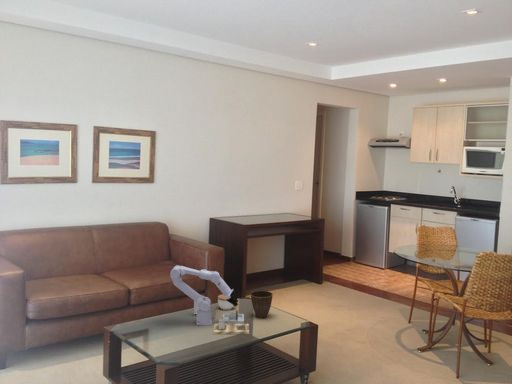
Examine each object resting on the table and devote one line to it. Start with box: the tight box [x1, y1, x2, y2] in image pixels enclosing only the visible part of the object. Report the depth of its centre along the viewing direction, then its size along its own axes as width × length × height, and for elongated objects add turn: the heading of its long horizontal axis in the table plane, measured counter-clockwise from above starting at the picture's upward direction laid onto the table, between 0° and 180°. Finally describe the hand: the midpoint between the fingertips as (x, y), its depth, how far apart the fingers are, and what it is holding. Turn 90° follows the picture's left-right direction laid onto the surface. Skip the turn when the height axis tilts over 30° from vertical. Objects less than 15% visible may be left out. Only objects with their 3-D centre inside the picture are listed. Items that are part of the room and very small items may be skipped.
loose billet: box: [228, 310, 239, 321], centre depth 318 cm, size 4×6×6 cm, turn 92°
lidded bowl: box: [217, 293, 235, 311], centre depth 343 cm, size 13×13×11 cm
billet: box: [218, 318, 226, 330], centre depth 302 cm, size 4×6×6 cm, turn 2°
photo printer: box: [193, 296, 208, 315], centre depth 330 cm, size 10×4×12 cm, turn 98°
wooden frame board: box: [212, 323, 250, 335], centre depth 302 cm, size 22×14×2 cm, turn 92°
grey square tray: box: [222, 313, 245, 324], centre depth 318 cm, size 14×14×2 cm
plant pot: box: [250, 290, 274, 319], centre depth 327 cm, size 15×15×16 cm
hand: (236, 304), depth 312 cm, fingers open, 7 cm apart
